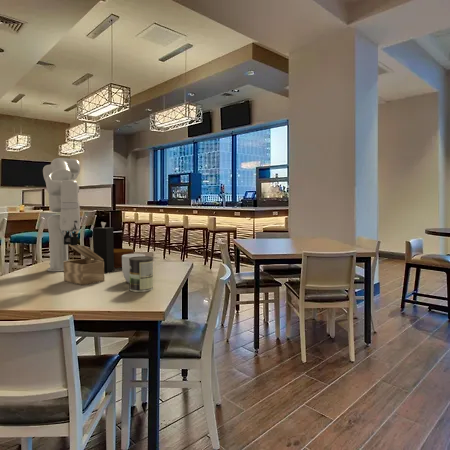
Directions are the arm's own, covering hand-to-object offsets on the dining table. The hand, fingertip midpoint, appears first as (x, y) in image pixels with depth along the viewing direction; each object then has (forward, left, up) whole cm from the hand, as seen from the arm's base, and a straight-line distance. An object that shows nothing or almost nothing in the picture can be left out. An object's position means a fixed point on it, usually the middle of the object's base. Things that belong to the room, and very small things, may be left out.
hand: (70, 244), depth 170 cm
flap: (0, +5, -4) cm, 6 cm away
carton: (0, +7, -19) cm, 20 cm away
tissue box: (-13, +27, -19) cm, 35 cm away
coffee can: (+36, +13, -19) cm, 43 cm away
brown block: (-20, +42, -19) cm, 50 cm away
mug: (+21, +22, -19) cm, 36 cm away
